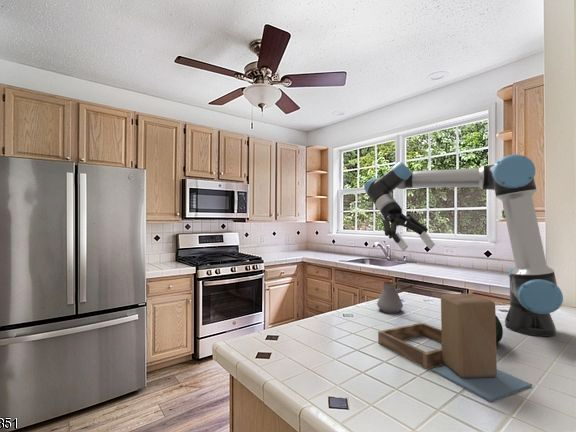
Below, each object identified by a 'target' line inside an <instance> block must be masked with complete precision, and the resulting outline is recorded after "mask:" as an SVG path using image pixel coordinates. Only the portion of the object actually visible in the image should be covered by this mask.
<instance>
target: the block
mask: <svg viewBox="0 0 576 432" xmlns="http://www.w3.org/2000/svg"><path fill="white" fill-rule="evenodd" d="M440 313H441V314H440V316H441V317H440V318H441V320H440V322H441V329H440V330H442V343H441V348H442V360H443V363H445V364H444V365H445V366H446V365H447V366H448V367H449V368H451V369H452V370H453V371H454V372H455V373H457V374H458V375H459V376H460V377H463V378H476V377H495V376H496V375H497V369H498V368H497V364H498V363H497V344H496V316H497V314H496V303H495V302H494V301H493V300H491V299H487V298H486V297H485V298H484V297H482V296H479V295H477V294H474V293H471V292H470V293H444V294H441V295H440Z"/></svg>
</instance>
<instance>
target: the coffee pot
mask: <svg viewBox="0 0 576 432" xmlns="http://www.w3.org/2000/svg"><path fill="white" fill-rule="evenodd" d="M382 285H383V289H382V291H381V293H380V295H379V296H378V297H379V298H378V300H377V301H376V302H377V303H376V305H377V307H378V309H379V310H380V311H382V312H384V313H386V314H395V313H399V312H400V311H401V310H402V309H403V306H404V304H403V302H402V299H401V298H400V296H399V293H398V292H399V291H402V290H407V289H410V288H413V289H414V290H417V289H418V285H416V283H413V284H408V285H405V286H402V287H400V288H396V286H397V282H395V281H383V282H382ZM415 286H416V288H414V287H415Z"/></svg>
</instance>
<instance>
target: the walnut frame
mask: <svg viewBox="0 0 576 432" xmlns="http://www.w3.org/2000/svg"><path fill="white" fill-rule="evenodd" d="M377 334H378V335H377V336H378V338H377V339H378V344H379V345H382V346H384V347H385V348H388V349H389V350H391V351H392V352H394V353H397V354H398V355H400V356H402V357H404V358H406V359H407V360H409V361H411V362H413V363H415V364H417V365H419V366H420V367H422V368H424V369H426V370H428V369H432V368H436V367H438V366H443V365H446V364H445V363H443V360H442V347H441V348H438V349H434V350H429V351H424V350H423V349H421V348H418V347H416V346H414V345H411V343H410V344H409V343H408V342H405V341H404V340H406V339H411V338H415V337H420V336H424V337H426V338H428V339H430V340H434V341H435V342H437V343H441V344H442V329H439V328H437V327H435V326H432V325H429V324H427V323H424V322H419V323H414V324H409V325H403V326H399V327H393V328H389V329H384V330H382V329H381V330H378V331H377Z"/></svg>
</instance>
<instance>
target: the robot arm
mask: <svg viewBox="0 0 576 432" xmlns="http://www.w3.org/2000/svg"><path fill="white" fill-rule="evenodd" d="M535 176H536V166H535V163H534V162H533V161H532V160H531V159H530V157H529V158H528V157H527V156H525V155H522V154H509V155H505V156H502V157H501V158H500V159H498V160H497V161H496V162H495V163H494V164H491V165H490V164H489V165H487V164H486V165H481V166H480V167H479V168H460V169H459V168H458V169H457V168H454V169H430V170H410V168H408V167H407V165H406V164H405V163H404V162H403V161H399V162H397V163H396V164H395V165H393V166H392V167H391V168H390V169H389V170H388V171H386V172H385V173H384V174H383V175H382V176H381V177H380V178H377V177H373V178H371V179H369V180H367V181H366V182H365V183H364V186H363V188H364V191H365V193H366V195H367V196H368V197H369V198H370V200H371V201H372V203H373V204H374V205H375V207H376V208H377V210H378V211H379V212H380V213H381V215H382V217H381V218H380V220H381V221H382V225H383V231H384V235H385V236H386V237H388V238H389V239H393V241H394V242H395V243H396V245H397V246H398V247H399V248H400V250H401V251H402V252H405V251H406V250H407V248H408V247H409V245H408V244H407V243H406V241H405V240H404V239H403V237H402V235H400V232H397V227H399V226H401V227H404V228H406V229H407V228H408V230H409V229H410V230H411V231H413V232H415V233H416V234H418V235H419V237H420V239H421V240H422V241H423V243H424V244H425V245H426V247H427V248H428V249H429V250H431V249H432V248H433V247H434V246H435V245H436V244H435V242H434V241H433V240H432V239H431V237H430V236H429V235H428V234H427V232H428V231H429V229H428V228H427V227H426V226H424V225H423V224H422V223H421V222H419V221H418V220H417V219H415V218H414V217H413V216H412V215H411V214H410V213H407V214H406V215H404V213H403V209H402V207H401V206H400V204H398V202H397V201H396V199H395V198H394V197H393V196H392V194H391V193H392V192H393V191H395V190H396V189H399V190H403V189H417V188H418V189H421V188H424V189H425V188H426V189H427V188H434V189H435V188H438V189H439V188H478V189H480V190H482V191H483V190H490V191H493V190H494V194H495V198H496V199H499V200H501V202H502V207H503V212H504V217H505V221H506V226H507V232H508V237H509V241H510V242H509V243H510V245H511V251H512V255H513V261H514V265H515V267H512V268H510V269H509V274H508V277H509V309H508V312H507V314H506V316H505V319H504V321H505V322H504V325H505V327H506V328H507V329H509V330H511V331H514V332H517V333H520V334H524V335H530V336H535V337H537V336H538V337H552V336H555V335H556V334H557V333H556V332H557V328H556V326H555V325H556V324H555V322H554V320H553V318H552V315H551V313H554V312H556V311H557V310H559V309H560V307H561V306H562V304H563V302H564V296H563V292H562V289H561V288H560V287H559V286H558V282H557V278H556V275H555V270H554V269H553V268H552V267H549V266H548V264H547V260H546V255H545V250H544V246H543V245H544V244H543V241H542V236H541V231H540V227H539V222H538V218H537V214H536V209H535V204H534V199H533V196H534V194H535V193H536V192H537V187H536V185H537V184H536V181H535Z"/></svg>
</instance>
